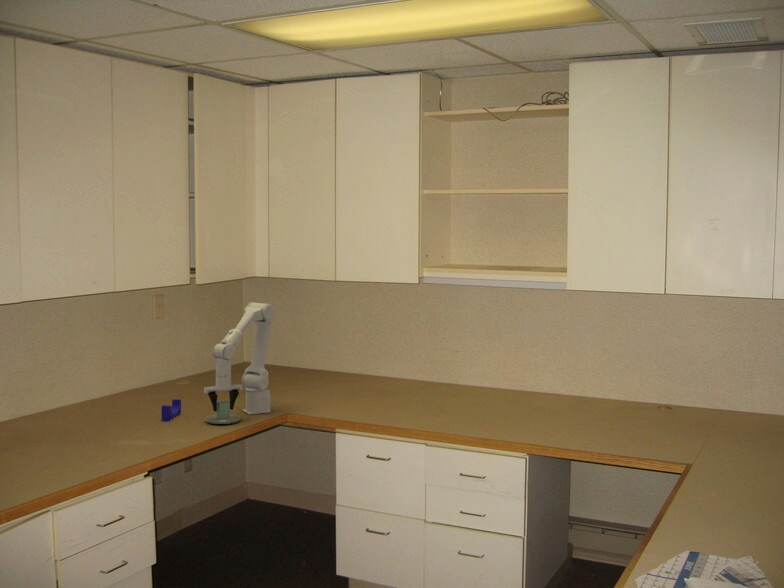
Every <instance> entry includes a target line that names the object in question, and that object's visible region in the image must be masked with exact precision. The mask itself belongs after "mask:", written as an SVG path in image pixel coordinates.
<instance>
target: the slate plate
mask: <svg viewBox="0 0 784 588" xmlns="http://www.w3.org/2000/svg"><path fill="white" fill-rule="evenodd" d="M240 421H241V415H239V414H237V413H230V418H226V419H219V418H217V413H213V414H209V415H207V416H206V417H205V422H207V423H208V424H212V425H217V424H227V425H231V423H232V424H235V423H238V422H240Z"/></svg>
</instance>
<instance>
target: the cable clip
mask: <svg viewBox="0 0 784 588" xmlns="http://www.w3.org/2000/svg"><path fill="white" fill-rule="evenodd" d="M171 402H172V403H171V405H170V404H169V405H167V404H166V405H164V404H163V405H161V422H171V421H172V420H174V419H175V418H177V417H178V416H180V415H181V414H182V399H179V398H173V399H172V400H171ZM180 413H181V414H180ZM179 414H180V415H179ZM177 415H178V416H177ZM176 416H177V417H176ZM174 417H175V418H174ZM173 418H174V419H173ZM171 419H172V420H171ZM170 420H171V421H170Z"/></svg>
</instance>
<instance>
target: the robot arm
mask: <svg viewBox="0 0 784 588" xmlns="http://www.w3.org/2000/svg"><path fill="white" fill-rule="evenodd" d="M274 315H275V309H274V306H273V304H271V303H264V302H263V303H262V302H261V303H260V302H255V301H250V302H249V303H248V304H247V305H246V306H245V308H244V314H243V316H242V318H241V319H240V321H239V322H238V324H237V325H236V327H235V328H231V329H229V330H228V332H227V334H226V335H225V337H224V338H223V339H222V340H221V342H219V343H217V344H215V345H214V347H213V348H212V351H211V354H212V357H213V360H214V363H215V385H213V386H212V385H211V386H207V387H204V388H203V393H204V394H205V395H206V394H207V395H208V398H209V399H210V402H211V405H212V409H213V410H212V411H213V412H215V413H217V401H218V394H217V393H220V392H228V394H229V402H230V411H232V410H234V406H235V404H236V401H237V398H238V396H239V395H240V393H239V392H240V391H242V390H243V388H244V390H245V408H243V409H242V411H243V412H244V413H246V414H247V415H256V414H257V415H258V414H266V413H271V412H272V410H271V393H270V392H271V391H270V390H269V389H267V388H268V386H269V371H268V370H267V369H266V368H265V364H266V359H267V353H268V347H269V342H270V337H271V332H272V328H273V321H274V317H275V316H274ZM253 323H255V325H256V326H257V331H256V334H255V335H256V336H255V341H254V345H253V346H254V347H253V352H252V355H251V362H250V365H249V366H247V367H245V369H244V373H243V375H242V378H241V383H240V384H232V358H234V356H235V351H236V350H237V349H236V348H237V347H238V345H239V344H240V342H241V341H242V340H243V334H244V332H245V331H247V329H248V328H249V327H250V326H251V325H252V324H253Z"/></svg>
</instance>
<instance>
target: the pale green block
mask: <svg viewBox="0 0 784 588" xmlns="http://www.w3.org/2000/svg"><path fill="white" fill-rule="evenodd" d="M216 414H217V418H219V419H226V418H230V414H231V409H230V401H229V400H217V411H216Z"/></svg>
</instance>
